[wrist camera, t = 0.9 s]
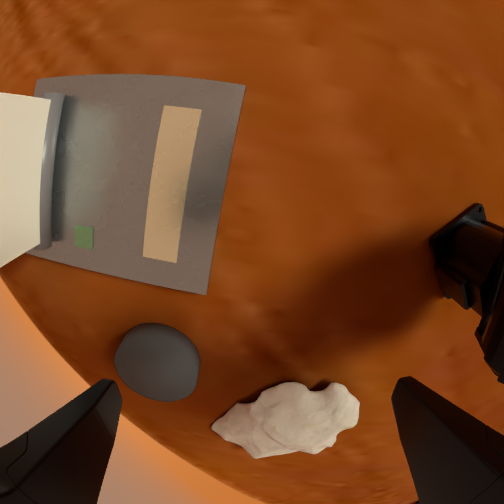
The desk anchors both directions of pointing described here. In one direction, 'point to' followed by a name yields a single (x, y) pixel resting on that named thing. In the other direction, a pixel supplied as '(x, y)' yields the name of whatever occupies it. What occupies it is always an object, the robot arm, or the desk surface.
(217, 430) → the decorative stone
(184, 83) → the grey flat slab
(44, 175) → the bowl
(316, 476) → the desk surface
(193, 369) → the grey river pebble
